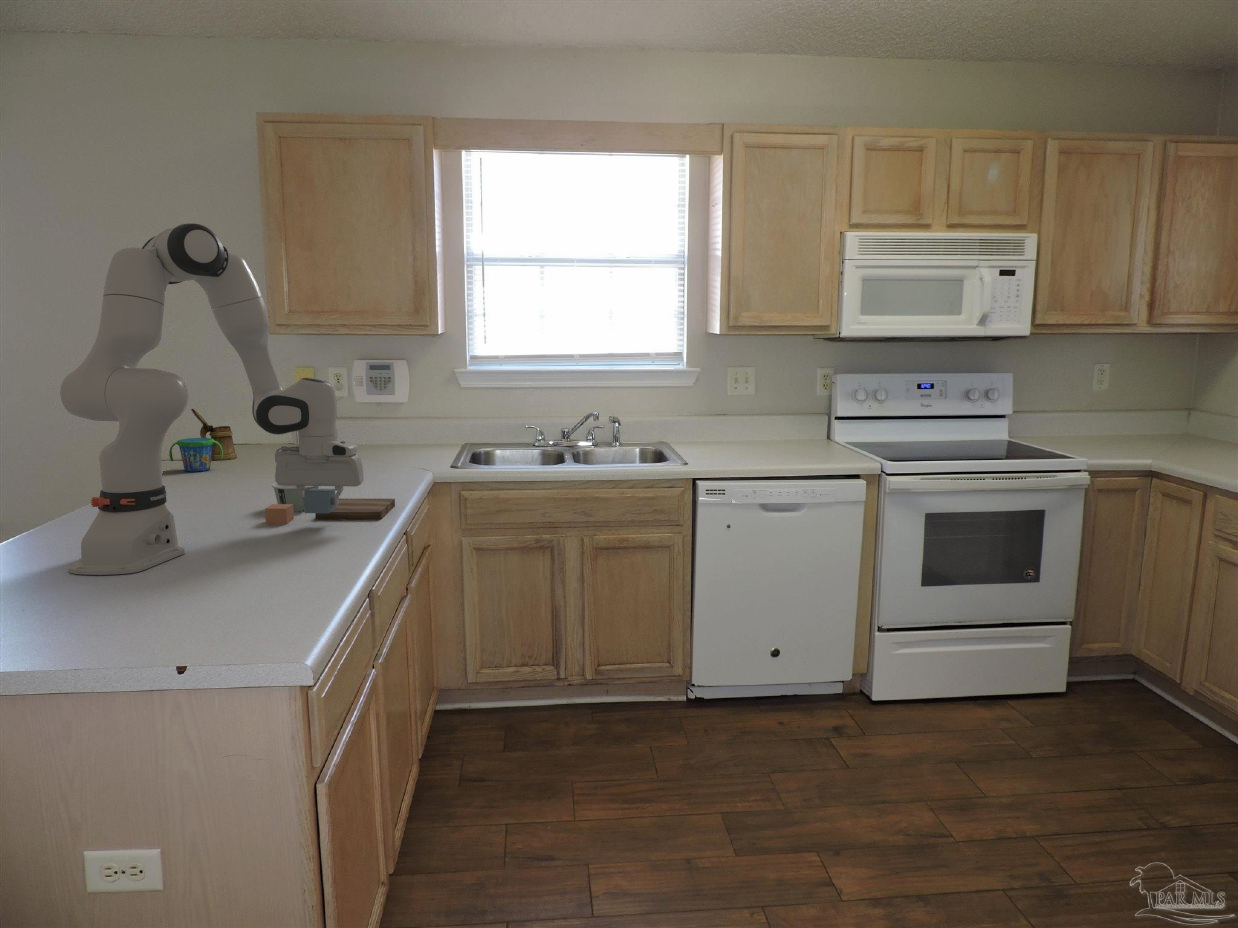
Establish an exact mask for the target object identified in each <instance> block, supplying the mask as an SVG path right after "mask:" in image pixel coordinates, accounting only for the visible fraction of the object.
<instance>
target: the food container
mask: <svg viewBox="0 0 1238 928" xmlns="http://www.w3.org/2000/svg"><path fill="white" fill-rule="evenodd" d="M271 487H272V488H273V490H274V495H275V499H276V504H293V511H295V512H304V511H303V510H305V504H302V501H301V497H300V495H299V494H298V492H297V491H296V486H284V485H278V484H277V483H276V482H274V483H272V484H271ZM319 487H320V486H305V489H303V490H304V492H306V491H308V490H310V489H312V488H317V489H320V488H319Z"/></svg>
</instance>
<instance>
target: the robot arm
mask: <svg viewBox="0 0 1238 928" xmlns="http://www.w3.org/2000/svg"><path fill="white" fill-rule="evenodd" d="M189 281H194V282H195V283H197V284H198V285H199V286H200V287H201V289H202V290H203V291H204V292H205V294H206V296H207V299H208V302H209V305H210V308H211V311H212V314H213V317H214V318H215V321H216V323H217V325H218V327H219V329H220V331H221V332H222V334H223V335H224V337H225V338H226V340H227V341H228V343H229V344H230V345H231V347H233V349H234V350H235V352H236V353H237V354H238V356H239V358H240V360H241V363H242V365H243V367H244V369H245V372H246V375H247V378H248V381H249V384H250V387H251V390H252V394H253V395H252V396H253V398H252V399H253V400H252V407H251V410H252V412H251V413H252V418H253V420H254V421H255V423H256V424H257V425H258V426H259V428H261V429H262V430H264V431H265V432H266V433H268V434H270V435H277V436H280V435H285V434H288V433H292V432H298V433H297V434H298V435H297V437H298V446H285V445H283V446H281V447H279V448H278V449H276V450H275V453H274V461H275V463H276V464H275V465H276V466H275V472H274V473H275V474H274V479H275V483H277V484H278V485H284V486H296V491H297V492H298V494H299V495H300V497H301V501H302V504H305V498H304V490H303V489H305V486H319V487H334V489H335V496H333V497H331V505H338V504H339V499H340V496H341V494H342V493H343V491H344V487H356V488H357V487H358V486H360V485H362V484H363V482H364V480H365V477H364V468H363V461H362V459H361V457H360V456H359V455H358V452H359V446H358V445H357V444H355V443H353V442H349V441H346V440H343V439H340V438H339V435H338V434H339V433H338V429H337V425H336V423H337V419H338V406H337V397H336V390H335V388H334V386H333V385H332V384H331V383H329V382H328V381H326V380H322V379H317V378H312V377H309V378H308V377H302V378H300V379H299V380H298V381H297V382H294V383H293V384H291V385H289V386H287V387H285V388H283V387H282V385H281V383H280V381H279V378H278V375H277V371H276V370H275V367H274V364H273V361H272V358H271V355H270V351H269V333H270V322H269V316H268V311H267V307H266V303H265V301H264V297H263V295H262V292H261V289H260V287H259V285H258V282H257V280H256V279H255V276H254V274H253V272H252V270H251V268H250V267H249V265H248V263H247V261H246V260H245V259H244V258H243V257H242V256H240V255H239V254H236V253H233V252H228V249H227V247H225V246H224V245H223V244H222V242H221V240H220V239H219V237H218V236H217V234H215V232H213V230H211V229H210V228H209V227H207V226H205V225H202V224H199V223H189V222H188V223H182V224H179V225H177V226H175V227H172V228H167V229H164V230H163V231H161V232H159V233H158V234H157V235H155V236H152V237H151V238H149V239H148V240H147V241H146V242H145V243H144V245H143V246H142V247H125V248H122V249H119V250H117V251H115V253H114V254H113V256H112V257H111V260H110V264H109V267H108V270H107V273H106V277H105V281H104V282H105V283H104V288H103V293H102V294H103V296H102V305H101V312H100V313H101V314H100V320H99V324H98V325H99V326H98V330H97V331H98V332H97V336H96V339H95V341H94V343H93V345H92V347H91V349H90V351H89V353H88V354H87V356H86V357H85V359H84V360H83V361H82V362H81V364H79V366H77V368H75V369H74V370H72V371H71V372H69V373H68V374H67V375H66V376H65V377H64V379H63V381H62V383H61V385H60V392H59V393H60V394H59V395H60V401H61V403H62V405H63V408H64V409H65V410H66V411H67V412H68V413H70V414H71V415H73V416H75V417H79V418H82V419H86V420H90V421H94V422H97V421H98V422H118V423H119V426H118V431H117V435H116V437H115V439H114V440H113V441H111V442H110V443H108V444H106V445H105V446H104V447H103V448H102V449H101V451H100V453H99V457H98V458H99V470H100V479H101V490H100V491H99V497H97V496H93V497H91V500H90V506H91V508H97V509H98V513H97V515H96V516H95V518H94V519H93V521H92V523H91V524H90V525H89V527H88V529H87V531H86V533H85V534H84V535H83V537H82V539H81V543H80V553H81V555H80V556H81V557H80V558H79V559H77V560H76V561H75V562H74V563H72V564H71V565H69V567H68V569H67V570H68V573H69V574H70V573H71V574H74V575H88V576H89V575H91V576H97V575H98V576H104V575H105V576H106V575H125V574H134V573H139V572H142V571H145V570H147V569H149V568H152V567H154V566H157V565H159V564H163V563H165V562H167V561H169V560H172V559H175V558H176V557H179V556H182V555H184V554H185V553H186V551H185V547H182V546H179V541H178V535H177V528H176V523H175V517H174V514H172V512H170V511H169V509H168V508H167V506H166V503H167V501H168V500H167V490H166V486H165V485H164V483H163V469H162V464H163V463H162V450H163V443H164V440H165V437H166V434H167V432H168V430H169V429H170V427H171V426H172V424H174V422H175V421H176V420H177V419H178V418H180V417H181V416H182V415H183V414H184V412H186V410H187V406H188V405H189V403H188V402H189V390H188V387H187V385H186V382H185V381H184V380H183V379H182V377H180V375H178V374H176V373H173V372H170V371H166V370H161V369H158V368H144V367H143V368H142V367H141V368H138V365H139V363H140V362H141V360H142V359H143V357H144V356H145V355H147V354H148V353H149V352H151V351H152V350H154V349H155V348H156V347H158V345H159V344H160V343H161V340H162V331H163V324H164V323H163V320H164V310H165V300H166V299H165V297H166V296H165V295H166V290H167V287H168V285H176V284H180V283H183V282H189Z"/></svg>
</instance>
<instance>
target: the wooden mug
mask: <svg viewBox="0 0 1238 928" xmlns="http://www.w3.org/2000/svg"><path fill="white" fill-rule="evenodd" d="M191 413H193V415H194V416H195V418H197V420H199V422H200V423H201V424H202V426H201V428H200V431H199V434H200V438H207V433H209V437H210V438H212V439H213V440H214V441H217V442H218V443H219V444H220V445H221V446H222V449H223V457H222V460H221V459H220V458H221V449H220V447H219V446H218V445H217V444H216V443H214V445H213V449H212V455H211V461H231V460H235V459H238V455H237V453H236V450H235V445H234V439H233V434H234V433H233V430H232V429H231V426H229V425H222V426H221V425H220V426H215V427H214V425H212V424H209V423H208V422H207V421H206V419H205V418H204V417H203V416H202V415H201V414H200V413H199V412H198V411H196V409H194V408H191ZM230 459H231V460H230Z"/></svg>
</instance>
